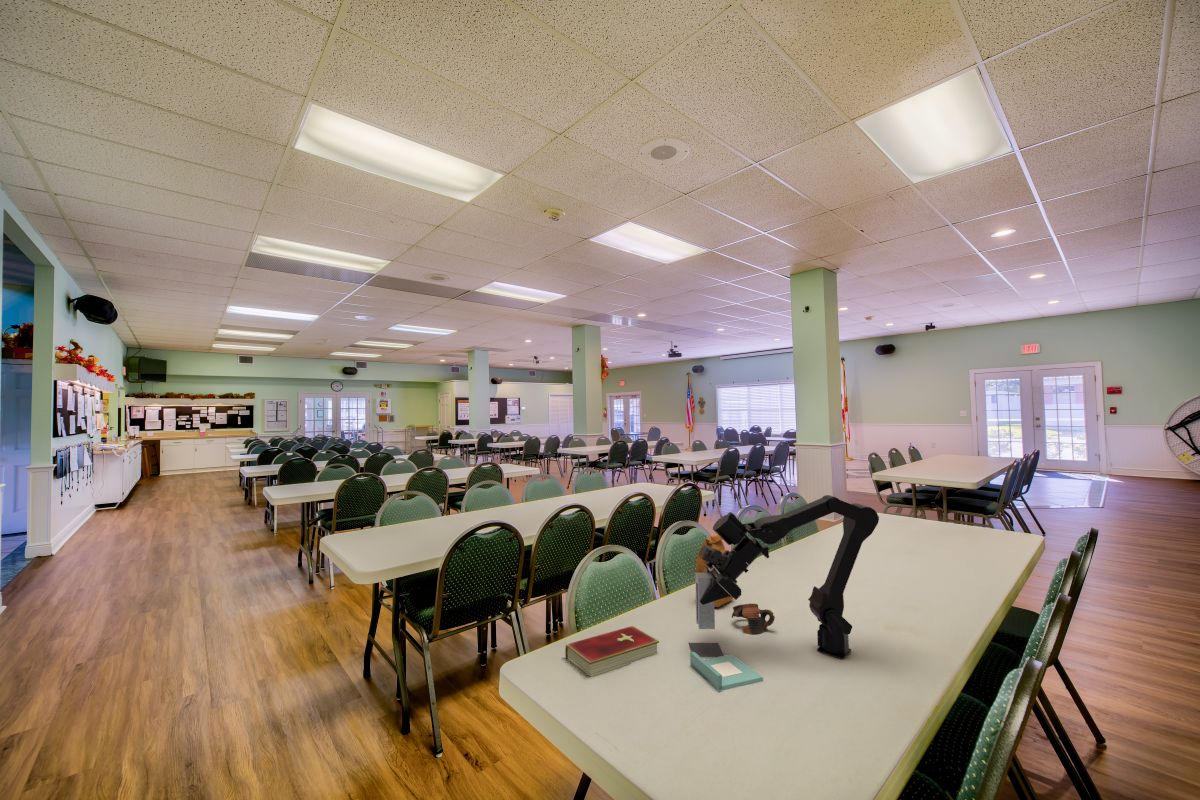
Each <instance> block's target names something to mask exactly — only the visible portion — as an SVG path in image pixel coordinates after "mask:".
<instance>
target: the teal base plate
mask: <svg viewBox="0 0 1200 800" xmlns="http://www.w3.org/2000/svg"><path fill="white" fill-rule="evenodd" d="M689 657H690V658H689V659H690V667H691V668H692V669H694V671H695V672H697V674H699V675H700V676H701V677H702V678H703V679H704V680H706V682H707V683H709V684H710V685H711V686H712V687H713V688H714V689H715V690H717V693H720V692H721V691H725V690H729V689H733V688H738V687H741V686H742V687H743V686H746V685H753V684H756V683H760V682H763V681H764V677H763V676H762V675H761V674H760V673H758V672H756V671H755V670H754V669H753V668H752V667H750V666H749V665H748V664H746V663H744V662H743V661H742V660H740V659H739V658H738V657H737V656H736V655H734V654H733V653H732V654H725V655H724V656H720V657H709V658H705V659H703V657H700V656H699V655H697V654H696V653H695V652H690V655H689Z"/></svg>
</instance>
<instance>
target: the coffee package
mask: <svg viewBox="0 0 1200 800" xmlns="http://www.w3.org/2000/svg"><path fill="white" fill-rule="evenodd" d="M723 541H724V540H723V539H722V538H721V537H720V536H719V535H718V534H716V535H712V536H708V537H707V538H705V539H704V542H703V543H702V545H701V547H700V549H699V551H698V553H697V556H696V557H697V558H696V563H695V565H696V566H695V569H696V570H695V573H706V569H705V568H706V567H707V568H709V566H707V565H706V564H705V560H703V559H702V557H701V556H700V554H701V552H702V550H703V547H704V545H707V546H709V547H711V548H714V549H715V548H716V549H717V550H718V551H719V550H720V551H721V552H722V553H724V552H725V551H726V550H727V549H726V548H725V545H724V542H723ZM733 599H734V598H733V597H732V596H731V597H726V598H722V599H719V600H716V601H714V608H719V607H721V606H722V605H724V604H727V603H728V602H731V601H732V600H733Z"/></svg>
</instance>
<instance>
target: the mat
mask: <svg viewBox="0 0 1200 800" xmlns="http://www.w3.org/2000/svg"><path fill="white" fill-rule="evenodd" d="M687 643H688V646H689V647H688V648H689V650H690V651H691V652H695V653H696V654H697V655H699V656H700V657H701V658H715V657H720V656H725V655H724V652H723V650H722V648H721V646H720V644H719V642H687Z"/></svg>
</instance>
